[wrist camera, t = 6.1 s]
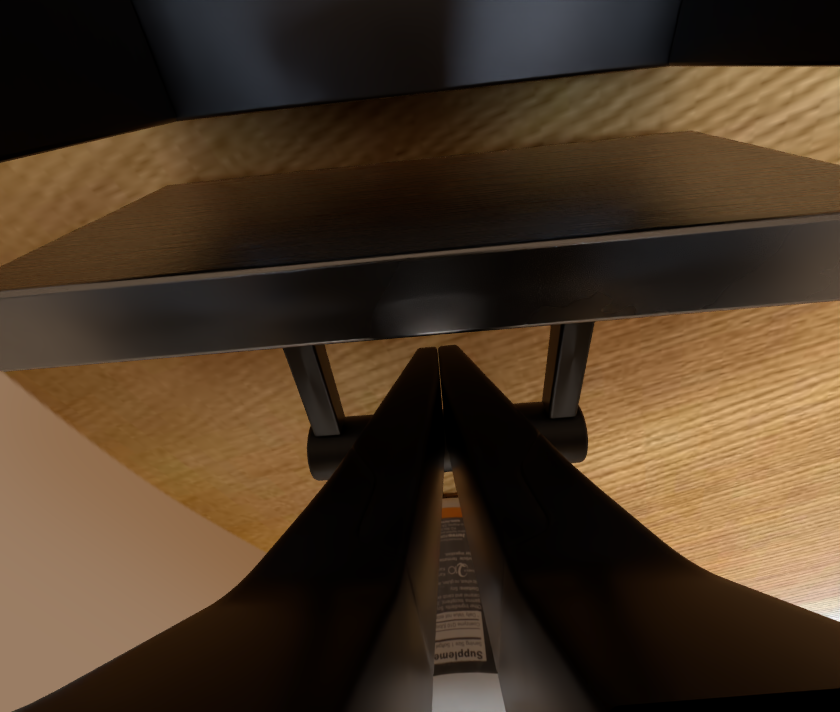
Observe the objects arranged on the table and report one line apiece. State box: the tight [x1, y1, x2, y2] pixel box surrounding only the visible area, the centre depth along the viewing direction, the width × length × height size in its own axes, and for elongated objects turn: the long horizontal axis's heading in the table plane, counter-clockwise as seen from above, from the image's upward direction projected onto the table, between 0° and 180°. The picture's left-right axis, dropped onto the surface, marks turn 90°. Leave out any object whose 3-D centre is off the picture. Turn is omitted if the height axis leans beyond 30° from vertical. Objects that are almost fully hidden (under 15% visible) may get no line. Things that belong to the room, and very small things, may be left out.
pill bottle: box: [432, 498, 506, 712], centre depth 16 cm, size 6×6×10 cm
